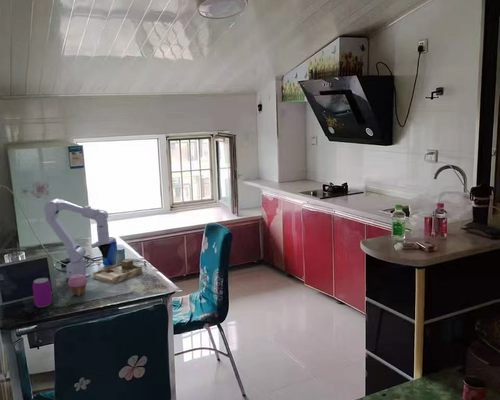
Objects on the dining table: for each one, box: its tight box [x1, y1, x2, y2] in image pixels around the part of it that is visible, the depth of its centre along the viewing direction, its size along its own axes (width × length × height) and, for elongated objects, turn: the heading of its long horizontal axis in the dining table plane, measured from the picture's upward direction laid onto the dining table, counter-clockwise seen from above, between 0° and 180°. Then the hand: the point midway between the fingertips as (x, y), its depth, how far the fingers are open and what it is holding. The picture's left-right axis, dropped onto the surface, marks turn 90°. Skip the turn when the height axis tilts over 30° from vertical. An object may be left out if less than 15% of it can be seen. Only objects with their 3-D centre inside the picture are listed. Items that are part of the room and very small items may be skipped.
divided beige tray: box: [92, 262, 143, 285], centre depth 270 cm, size 20×16×4 cm
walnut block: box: [120, 258, 134, 270], centre depth 275 cm, size 4×4×4 cm
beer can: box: [101, 236, 118, 268], centre depth 286 cm, size 8×8×16 cm
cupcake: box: [67, 274, 88, 297], centre depth 244 cm, size 9×9×10 cm
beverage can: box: [32, 277, 53, 308], centre depth 232 cm, size 8×8×12 cm
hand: (105, 257), depth 269 cm, fingers closed
